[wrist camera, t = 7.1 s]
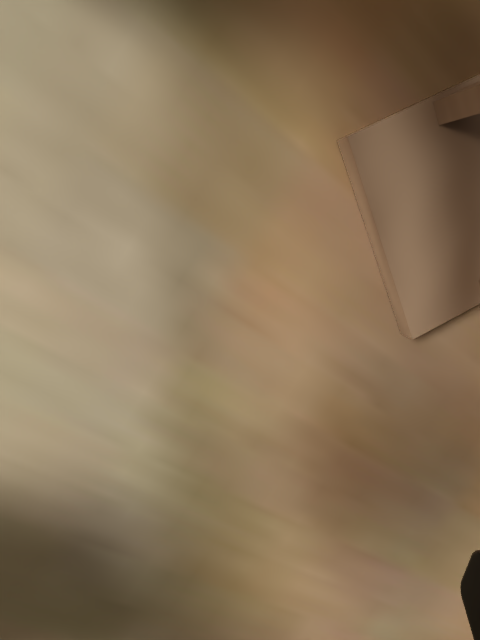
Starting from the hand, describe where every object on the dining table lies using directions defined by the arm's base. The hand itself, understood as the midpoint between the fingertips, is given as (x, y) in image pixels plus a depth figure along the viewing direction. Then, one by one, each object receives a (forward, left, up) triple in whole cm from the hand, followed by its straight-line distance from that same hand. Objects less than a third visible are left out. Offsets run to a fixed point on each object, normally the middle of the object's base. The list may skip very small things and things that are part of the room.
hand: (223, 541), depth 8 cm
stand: (+12, -8, -12) cm, 19 cm away
